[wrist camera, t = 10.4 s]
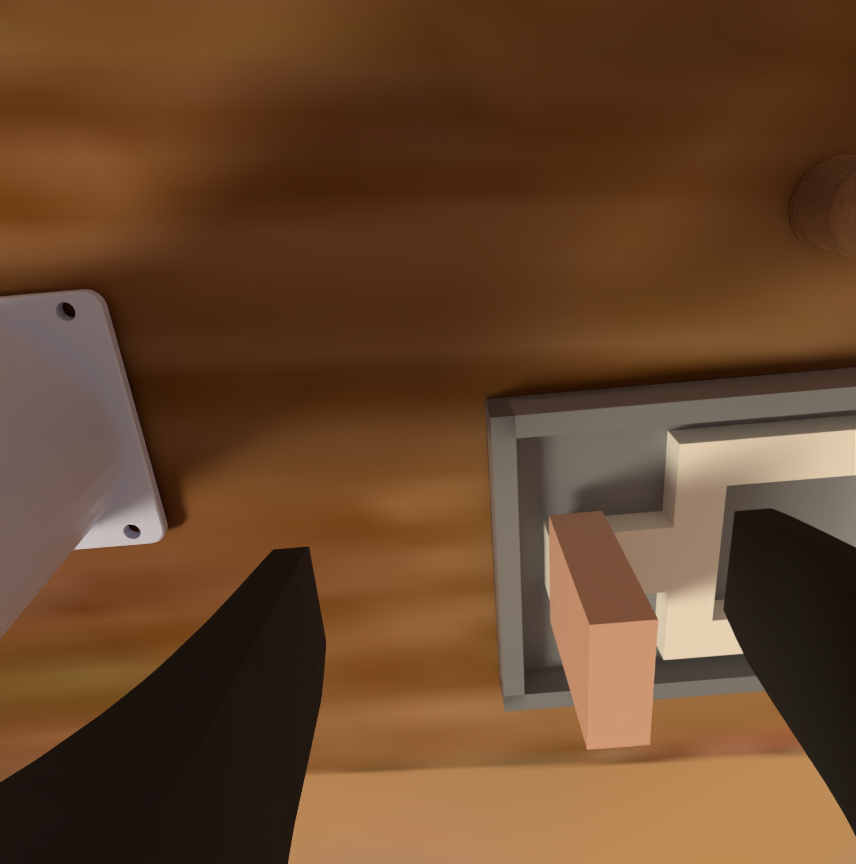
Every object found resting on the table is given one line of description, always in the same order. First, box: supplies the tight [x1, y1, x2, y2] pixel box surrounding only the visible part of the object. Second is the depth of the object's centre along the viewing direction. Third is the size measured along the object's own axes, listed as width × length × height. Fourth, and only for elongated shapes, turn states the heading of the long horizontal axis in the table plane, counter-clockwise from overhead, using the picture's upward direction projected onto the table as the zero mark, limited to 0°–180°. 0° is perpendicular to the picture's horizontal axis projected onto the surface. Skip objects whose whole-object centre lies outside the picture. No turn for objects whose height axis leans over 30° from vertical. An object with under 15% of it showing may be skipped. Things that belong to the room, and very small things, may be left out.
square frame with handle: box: [543, 415, 856, 750], centre depth 19 cm, size 12×8×6 cm
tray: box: [485, 367, 856, 712], centre depth 22 cm, size 16×11×2 cm
